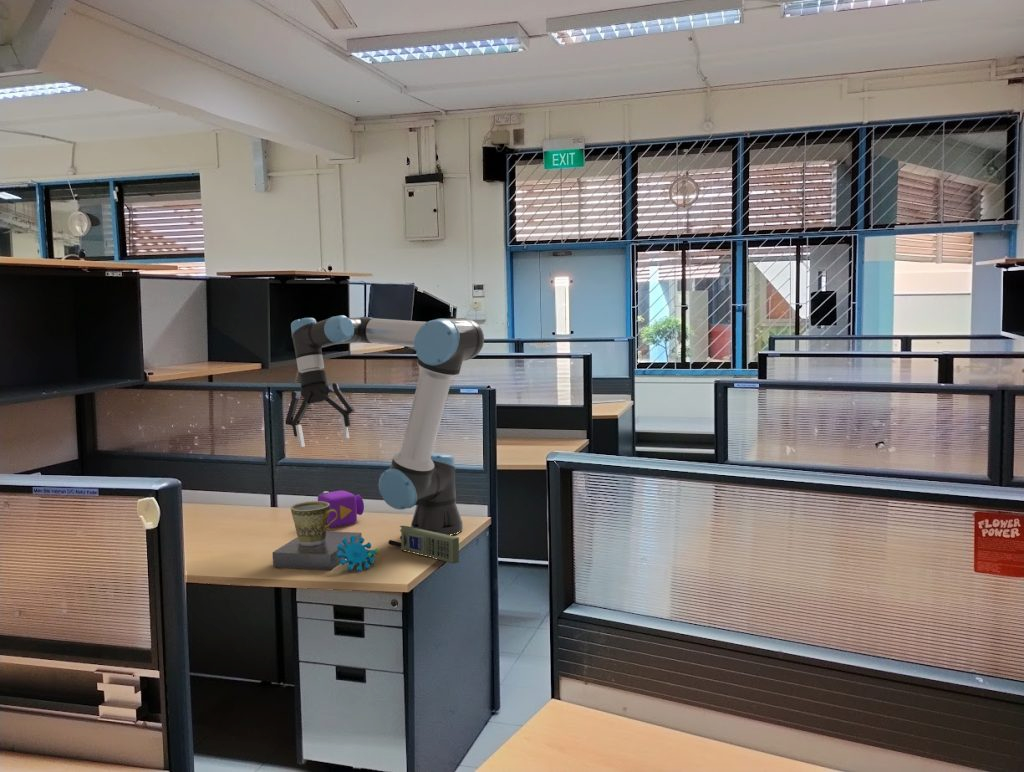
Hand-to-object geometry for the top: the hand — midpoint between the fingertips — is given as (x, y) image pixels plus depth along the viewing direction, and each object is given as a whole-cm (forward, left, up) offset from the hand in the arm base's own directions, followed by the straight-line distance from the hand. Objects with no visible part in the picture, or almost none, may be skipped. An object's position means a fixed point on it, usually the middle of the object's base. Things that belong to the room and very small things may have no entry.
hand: (324, 442), depth 233 cm
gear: (-21, +28, -27) cm, 45 cm away
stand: (-7, +22, -27) cm, 35 cm away
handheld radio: (-34, +16, -27) cm, 46 cm away
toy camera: (+1, -11, -27) cm, 30 cm away
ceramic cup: (-7, +22, -23) cm, 33 cm away
